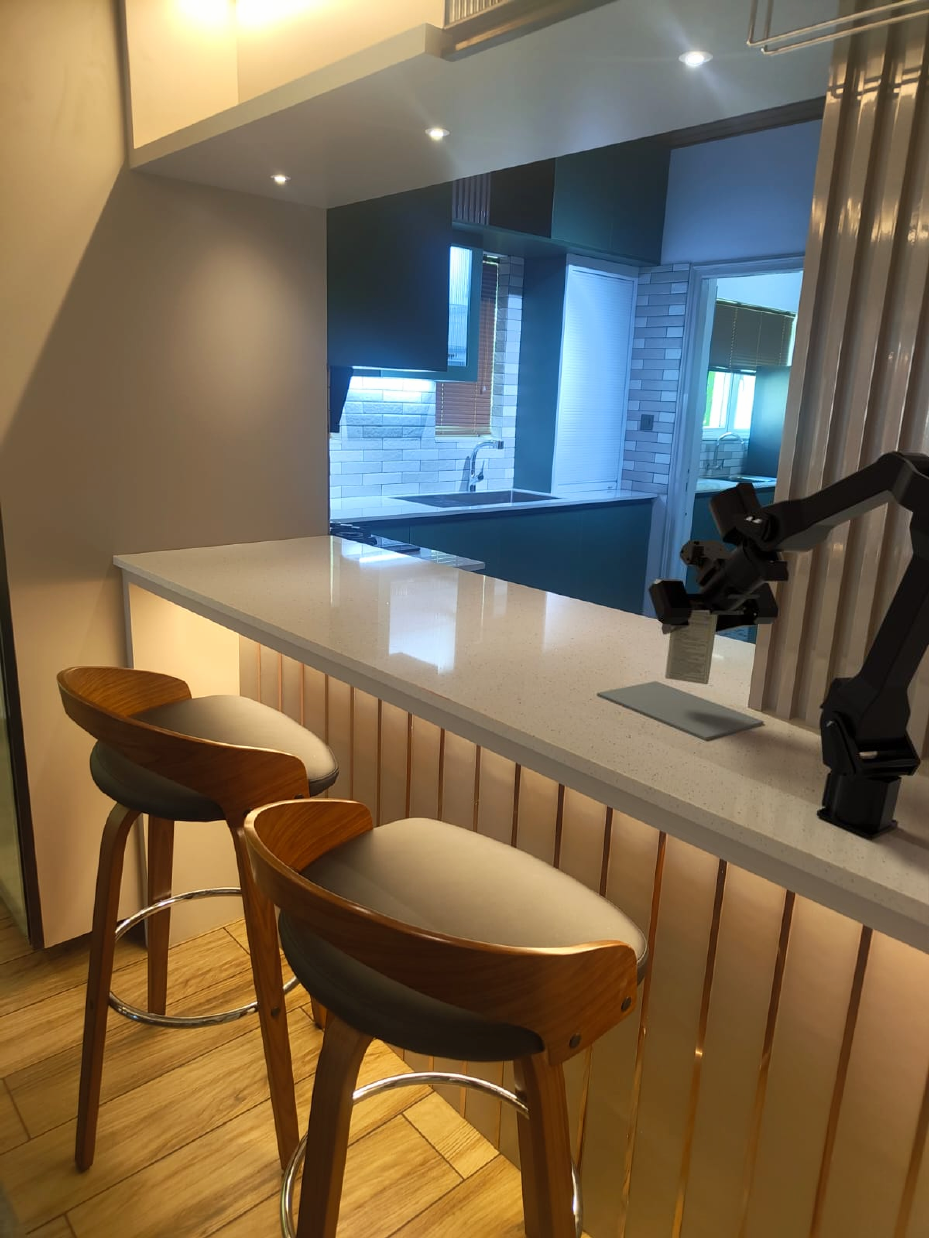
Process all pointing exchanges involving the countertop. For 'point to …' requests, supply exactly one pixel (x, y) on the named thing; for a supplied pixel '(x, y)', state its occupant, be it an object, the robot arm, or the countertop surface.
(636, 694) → the slate mat
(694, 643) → the skincare box
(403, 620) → the countertop surface
